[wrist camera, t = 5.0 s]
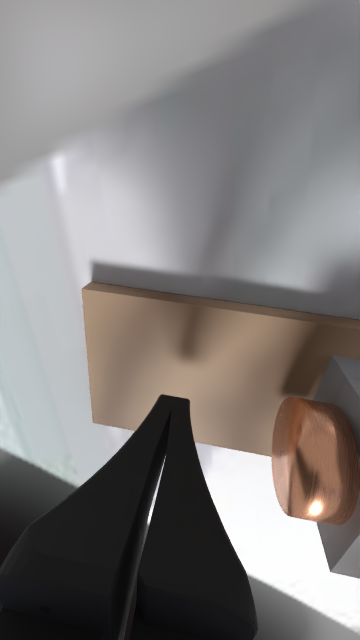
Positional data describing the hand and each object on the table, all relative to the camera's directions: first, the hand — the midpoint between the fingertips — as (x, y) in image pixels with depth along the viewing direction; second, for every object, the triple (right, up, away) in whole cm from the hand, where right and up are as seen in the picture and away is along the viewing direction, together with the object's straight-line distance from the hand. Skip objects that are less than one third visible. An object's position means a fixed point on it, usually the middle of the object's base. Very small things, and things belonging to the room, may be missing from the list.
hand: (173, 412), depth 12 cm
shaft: (+9, -1, 0) cm, 9 cm away
